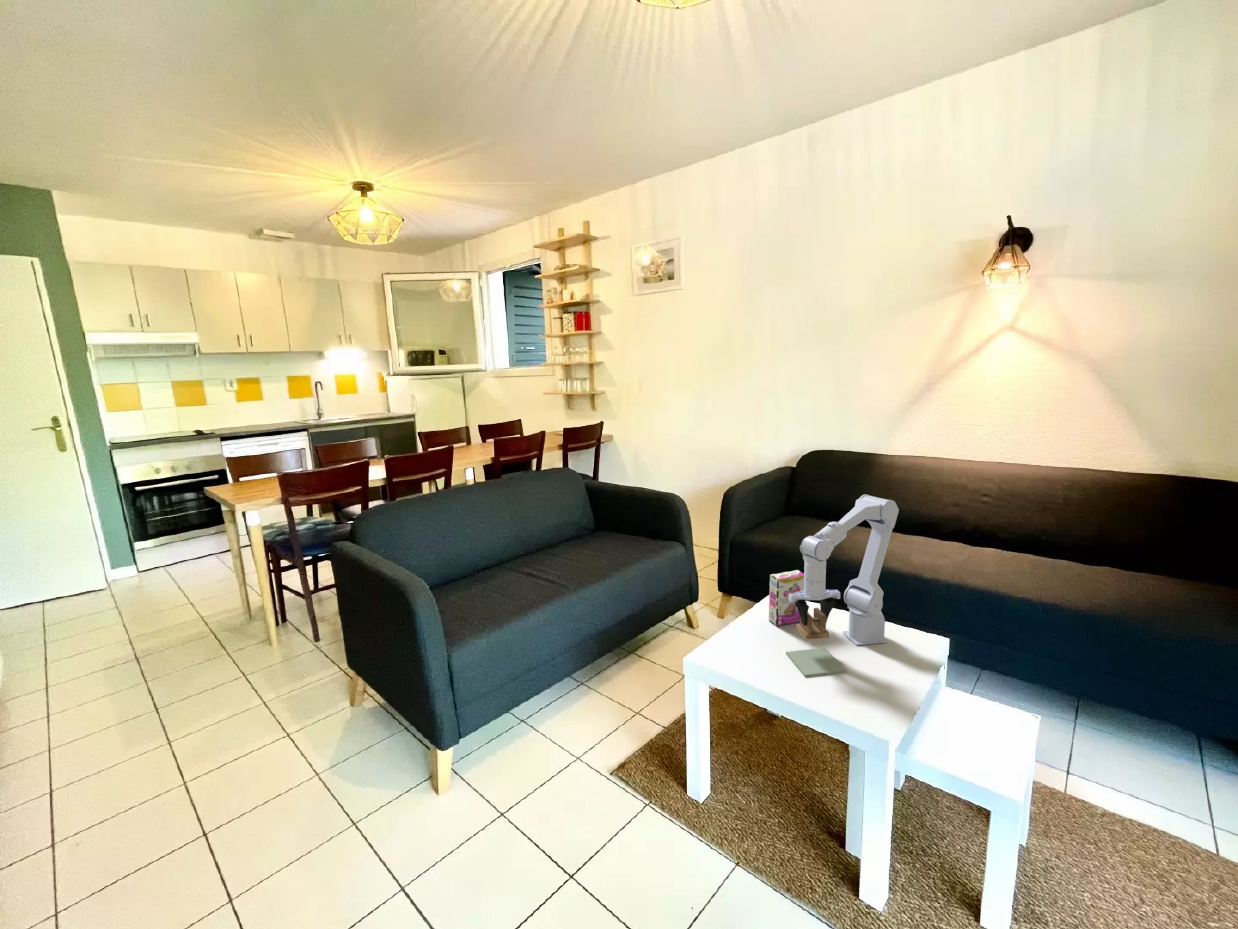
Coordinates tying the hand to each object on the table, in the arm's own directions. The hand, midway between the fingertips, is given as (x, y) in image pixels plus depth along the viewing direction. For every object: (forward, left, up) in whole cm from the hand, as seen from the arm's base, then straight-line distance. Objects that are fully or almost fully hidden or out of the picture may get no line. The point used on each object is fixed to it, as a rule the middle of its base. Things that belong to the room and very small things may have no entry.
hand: (813, 623), depth 151 cm
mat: (+1, +4, -10) cm, 11 cm away
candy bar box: (-2, -21, -10) cm, 24 cm away
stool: (0, -1, -3) cm, 3 cm away
